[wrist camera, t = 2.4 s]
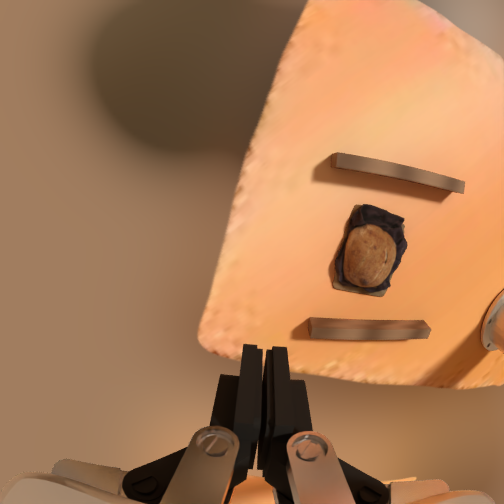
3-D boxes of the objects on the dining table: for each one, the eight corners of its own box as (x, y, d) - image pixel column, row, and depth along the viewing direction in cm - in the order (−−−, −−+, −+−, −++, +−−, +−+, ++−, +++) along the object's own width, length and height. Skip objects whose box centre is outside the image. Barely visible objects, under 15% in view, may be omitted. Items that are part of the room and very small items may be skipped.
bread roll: (383, 296, 33) (394, 309, 30) (325, 284, 33) (331, 297, 30) (409, 217, 30) (424, 223, 27) (349, 198, 30) (359, 202, 27)
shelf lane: (453, 180, 28) (465, 181, 26) (420, 329, 34) (427, 338, 31) (332, 153, 29) (337, 152, 26) (307, 327, 34) (310, 338, 32)
